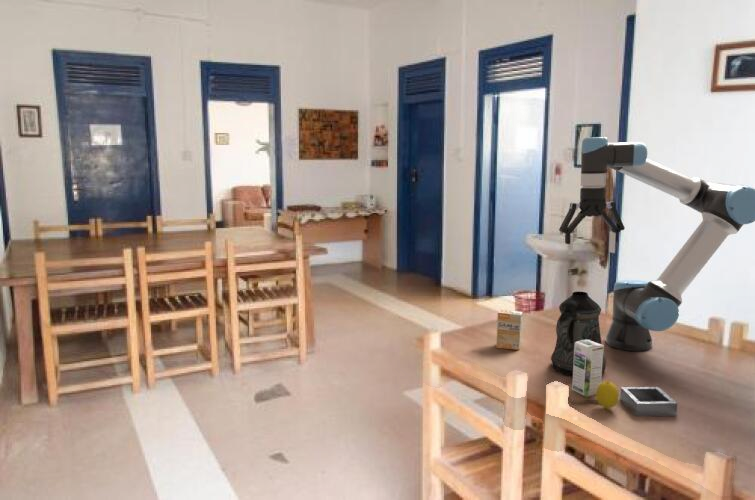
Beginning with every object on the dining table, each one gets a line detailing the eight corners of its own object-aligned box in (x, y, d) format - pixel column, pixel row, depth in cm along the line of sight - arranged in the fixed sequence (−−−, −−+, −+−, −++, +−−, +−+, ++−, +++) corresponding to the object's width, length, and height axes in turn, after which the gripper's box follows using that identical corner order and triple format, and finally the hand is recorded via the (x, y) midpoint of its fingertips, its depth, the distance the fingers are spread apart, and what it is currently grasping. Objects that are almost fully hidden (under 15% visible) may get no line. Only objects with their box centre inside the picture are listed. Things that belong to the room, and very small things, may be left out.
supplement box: (495, 348, 201) (496, 312, 198) (498, 343, 205) (499, 308, 203) (519, 350, 197) (520, 314, 195) (521, 346, 202) (522, 310, 200)
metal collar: (657, 398, 159) (658, 386, 158) (676, 415, 148) (677, 403, 148) (620, 398, 159) (620, 387, 158) (636, 416, 149) (637, 403, 148)
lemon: (591, 405, 155) (593, 377, 154) (611, 404, 156) (613, 376, 154) (601, 414, 150) (603, 385, 149) (621, 413, 150) (623, 384, 149)
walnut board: (597, 386, 167) (597, 383, 167) (612, 403, 156) (612, 399, 156) (559, 387, 167) (559, 384, 167) (571, 403, 156) (572, 400, 156)
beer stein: (604, 362, 186) (608, 288, 181) (607, 385, 168) (612, 304, 163) (551, 357, 191) (554, 285, 187) (549, 379, 173) (552, 300, 169)
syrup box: (571, 390, 163) (573, 341, 160) (586, 385, 165) (588, 338, 163) (586, 397, 158) (589, 347, 155) (601, 393, 160) (604, 344, 158)
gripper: (626, 184, 183) (623, 249, 187) (549, 187, 182) (548, 252, 186) (637, 186, 176) (634, 253, 179) (558, 189, 175) (556, 256, 179)
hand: (590, 253), depth 183 cm, fingers open, 13 cm apart
